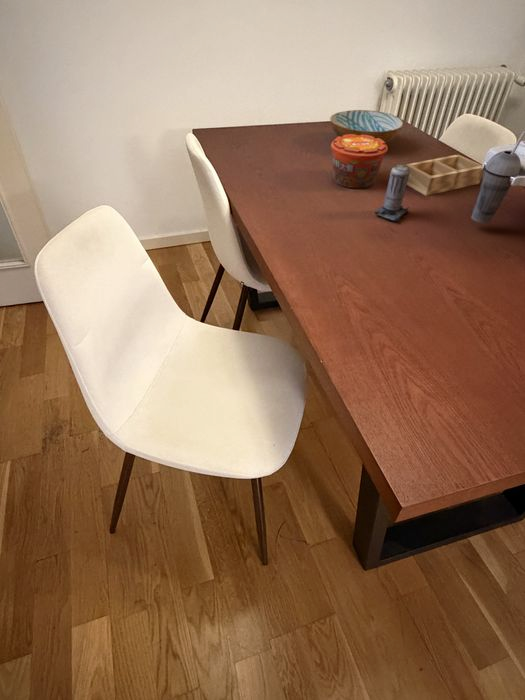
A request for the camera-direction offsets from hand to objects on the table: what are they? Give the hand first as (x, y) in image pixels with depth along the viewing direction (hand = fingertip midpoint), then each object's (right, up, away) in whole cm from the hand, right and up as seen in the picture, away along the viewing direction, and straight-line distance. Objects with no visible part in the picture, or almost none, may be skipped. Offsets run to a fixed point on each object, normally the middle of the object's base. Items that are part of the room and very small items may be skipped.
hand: (497, 173), depth 90 cm
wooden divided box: (0, +11, +30) cm, 32 cm away
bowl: (-17, +34, +53) cm, 65 cm away
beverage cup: (+1, -8, +8) cm, 11 cm away
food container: (-25, +11, +31) cm, 42 cm away
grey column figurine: (-19, -5, +15) cm, 25 cm away
